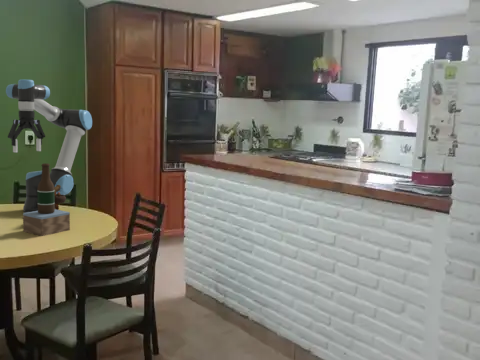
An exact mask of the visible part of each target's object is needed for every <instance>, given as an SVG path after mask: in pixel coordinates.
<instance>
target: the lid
mask: <svg viewBox="0 0 480 360" xmlns="http://www.w3.org/2000/svg"><path fill="white" fill-rule="evenodd" d="M68 214H71V212H70V211H66V210H60V209H59V210H56V209H55V212H54V213H51V214H40V213H38V211H33V212H23V213H22V216H23V215H24V216H29V217H33V218H38V219H47V218H52V217H57V216H63V215H68Z"/></svg>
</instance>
